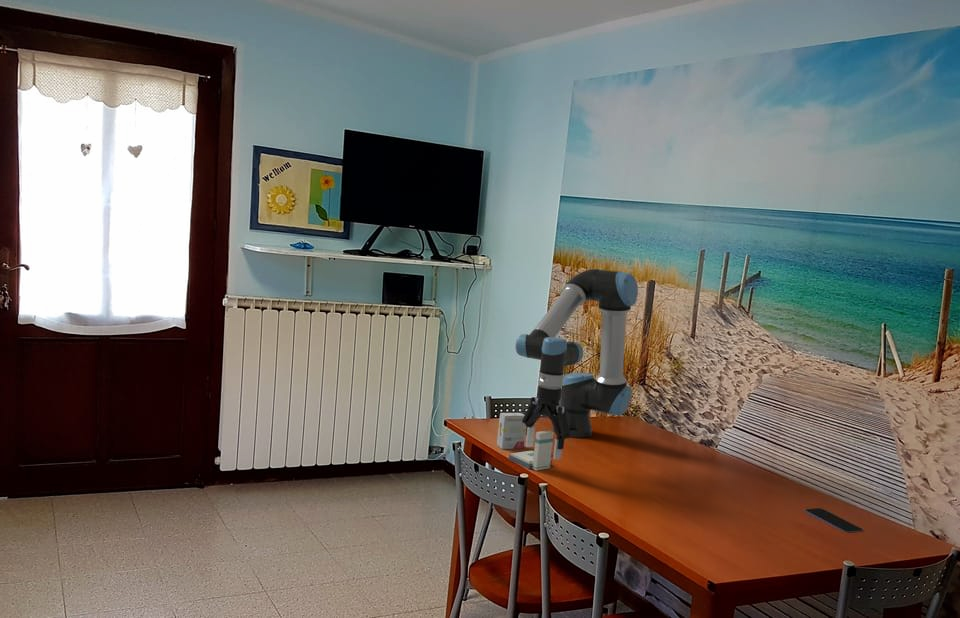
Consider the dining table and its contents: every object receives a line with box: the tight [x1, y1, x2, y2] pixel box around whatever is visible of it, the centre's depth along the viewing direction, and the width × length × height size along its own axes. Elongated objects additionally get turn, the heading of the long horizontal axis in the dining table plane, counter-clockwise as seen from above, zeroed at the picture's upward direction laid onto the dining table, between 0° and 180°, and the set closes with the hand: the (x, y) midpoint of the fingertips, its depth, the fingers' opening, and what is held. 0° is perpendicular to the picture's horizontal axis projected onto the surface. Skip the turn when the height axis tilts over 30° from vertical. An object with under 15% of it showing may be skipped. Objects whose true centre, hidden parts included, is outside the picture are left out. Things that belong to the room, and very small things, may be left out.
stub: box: [531, 430, 555, 471], centre depth 224 cm, size 6×2×12 cm, turn 128°
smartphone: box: [804, 507, 864, 534], centre depth 204 cm, size 7×1×15 cm
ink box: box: [496, 412, 526, 450], centre depth 245 cm, size 9×5×12 cm, turn 112°
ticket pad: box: [508, 450, 553, 470], centre depth 230 cm, size 10×10×2 cm
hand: (542, 452), depth 224 cm, fingers open, 12 cm apart
